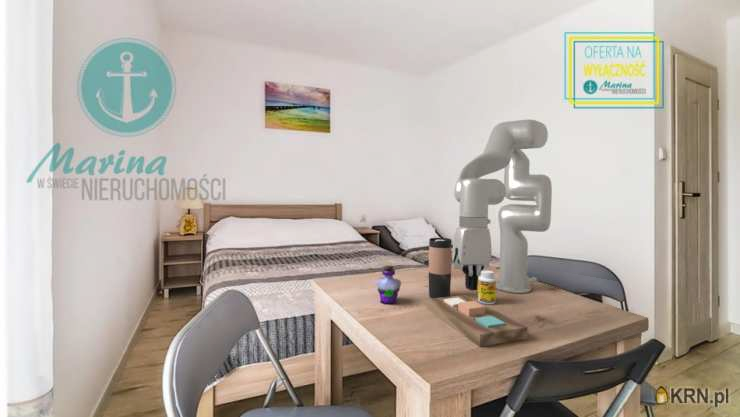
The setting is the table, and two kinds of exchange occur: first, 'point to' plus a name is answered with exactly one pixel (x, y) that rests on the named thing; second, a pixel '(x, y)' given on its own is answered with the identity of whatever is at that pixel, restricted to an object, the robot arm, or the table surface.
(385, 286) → the potion bottle
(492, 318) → the teal button
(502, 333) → the console
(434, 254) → the travel mug
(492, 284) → the supplement bottle
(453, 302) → the ivory button
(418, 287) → the table surface
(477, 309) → the terracotta button
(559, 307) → the table surface
